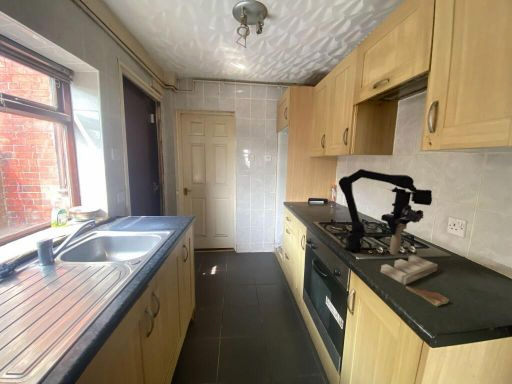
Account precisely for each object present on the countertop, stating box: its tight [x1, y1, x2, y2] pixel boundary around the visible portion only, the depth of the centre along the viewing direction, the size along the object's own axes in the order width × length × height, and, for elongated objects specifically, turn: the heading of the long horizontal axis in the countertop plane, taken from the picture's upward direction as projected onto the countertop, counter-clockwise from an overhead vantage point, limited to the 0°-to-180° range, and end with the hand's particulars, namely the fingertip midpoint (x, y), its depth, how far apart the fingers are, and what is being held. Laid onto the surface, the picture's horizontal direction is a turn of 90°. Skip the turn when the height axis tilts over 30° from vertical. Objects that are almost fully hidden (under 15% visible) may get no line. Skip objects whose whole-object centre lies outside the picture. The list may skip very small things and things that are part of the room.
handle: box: [389, 224, 408, 256], centre depth 103 cm, size 5×6×15 cm
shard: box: [405, 285, 450, 307], centre depth 78 cm, size 11×8×2 cm
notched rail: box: [380, 254, 438, 286], centre depth 93 cm, size 10×24×3 cm, turn 117°
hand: (396, 234), depth 103 cm, fingers closed on handle, 5 cm apart
